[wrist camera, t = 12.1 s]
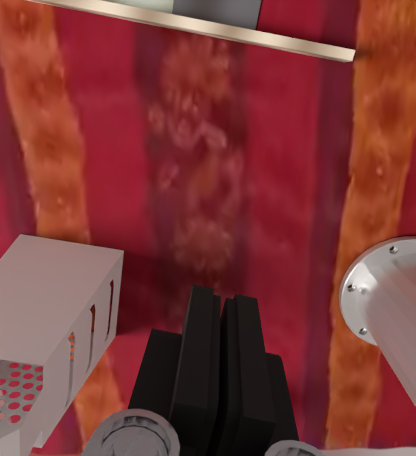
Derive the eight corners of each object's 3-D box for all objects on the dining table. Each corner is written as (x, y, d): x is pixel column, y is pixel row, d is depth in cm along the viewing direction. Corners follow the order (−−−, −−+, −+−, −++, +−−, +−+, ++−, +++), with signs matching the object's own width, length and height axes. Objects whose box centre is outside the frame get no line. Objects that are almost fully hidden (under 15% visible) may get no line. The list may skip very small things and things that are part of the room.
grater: (115, 335, 43) (37, 529, 24) (20, 321, 43) (-133, 507, 24) (123, 250, 39) (40, 400, 21) (20, 234, 39) (-161, 372, 20)
